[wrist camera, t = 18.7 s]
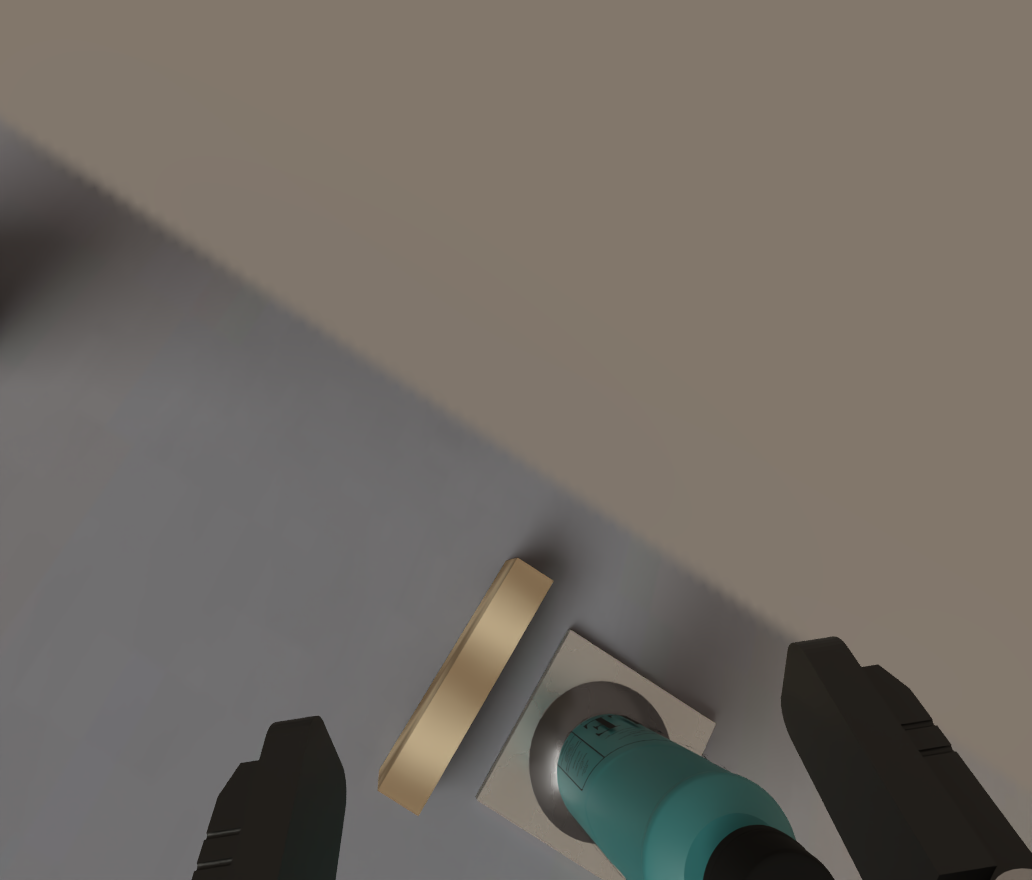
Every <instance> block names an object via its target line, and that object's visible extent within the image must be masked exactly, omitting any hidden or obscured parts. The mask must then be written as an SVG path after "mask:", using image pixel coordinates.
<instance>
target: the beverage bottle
mask: <svg viewBox="0 0 1032 880" xmlns="http://www.w3.org/2000/svg"><path fill="white" fill-rule="evenodd" d="M604 713H606V714H603V715H598V716H594V717H591V716H590V717H591V718H589V717H588V718H589V719H587V718H586V719H587V720H585V719H584V720H585V721H584V720H583V722H582V721H581V722H582V723H581V722H580V723H581V724H579V725H578V726H577V725H576V726H577V727H576V726H575V727H576V728H575V727H574V728H575V729H574V728H573V729H574V730H573V729H572V730H573V731H571V733H569V734H568V735H569V736H568V737H566V738H567V739H565V740H566V741H565V740H564V741H565V742H563V743H564V744H562V745H563V746H561V747H562V749H560V750H561V752H559V753H560V755H559V754H558V756H559V759H558V758H557V760H558V764H557V765H558V766H557V780H558V786H559V791H560V794H561V797H562V799H563V802H564V804H565V806H566V807H567V809H568V810H569V811H568V812H569V813H570V814H572V816H573V818H574V819H576V820H577V823H578V824H579V825H581V826H582V829H583V830H585V831H586V834H587V835H588V836H590V837H591V839H590V840H592V841H594V842H595V843H596V844H595V845H596V846H597V847H599V848H600V849H601V850H600V851H601V852H603V853H604V854H605V855H604V856H605V857H606V858H608V859H609V860H610V861H609V862H610V863H611V864H613V865H614V866H615V867H616V868H617V869H618V870H619V871H620V872H621V873H622V875H623V876H624V877H625V878H626V880H834V878H833V877H832V875H831V874H830V872H829V871H828V869H827V868H826V867H825V866H824V865H823V864H822V863H821V862H820V861H819V860H818V859H817V858H815V857H814V856H813V855H811V854H810V853H809V852H808V851H806V850H805V848H804V847H803V846H802V845H800V844H799V843H798V842H797V841H796V839H795V836H794V833H793V830H792V827H791V825H790V823H789V821H788V819H787V817H786V816H785V814H784V812H783V811H782V809H781V808H780V806H779V805H778V804H777V802H776V801H775V800H774V799H773V798H772V797H771V796H770V795H769V794H768V793H767V792H766V791H765V790H764V789H763V788H761V787H760V786H759V785H757V784H755V783H754V782H752V781H750V780H748V779H747V778H744V777H742V776H739V775H737V774H733V773H731V772H729V771H727V770H725V769H723V768H721V767H719V766H717V765H715V764H713V763H712V762H710V761H709V760H707V759H705V758H703V757H701V756H700V755H698V754H696V753H694V752H692V751H690V750H688V749H687V748H685V747H683V746H681V745H679V744H680V743H679V744H677V742H676V743H675V742H673V741H671V740H669V739H667V738H665V737H663V736H661V735H659V734H657V732H660V731H658V730H654V729H653V727H652V729H651V728H650V729H651V730H650V729H649V728H648V727H647V726H646V725H647V724H646V725H645V726H646V727H647V728H646V727H644V726H642V725H643V724H641V721H640V723H639V722H637V721H635V720H633V719H631V718H633V717H631V718H629V717H627V716H624V714H622V713H621V714H622V715H620V716H619V715H614V714H615V713H617V712H615V713H613V714H612V713H607V712H604ZM599 714H600V713H599ZM595 715H596V714H595ZM592 716H593V715H592ZM636 720H637V719H636ZM638 721H639V720H638ZM642 723H643V722H642ZM644 724H645V723H644ZM648 726H649V725H648ZM649 727H651V726H649ZM653 730H654V731H657V732H656V733H655V732H654V731H653ZM660 733H662V732H660ZM667 737H668V736H667ZM686 746H687V745H686ZM688 747H689V746H688ZM695 750H696V749H695ZM701 754H702V753H701ZM702 755H703V754H702ZM705 755H706V754H705ZM703 756H704V755H703ZM704 757H705V756H704ZM724 768H725V767H724ZM565 806H564V807H565ZM564 807H563V808H564ZM566 807H565V808H566ZM568 815H569V814H568ZM577 827H578V826H577ZM582 832H583V831H582ZM586 837H587V836H586ZM590 837H589V838H590ZM590 840H589V841H590ZM590 842H591V841H590ZM591 843H593V842H591ZM614 866H613V867H614ZM615 867H614V868H615ZM611 868H612V867H611ZM616 868H615V869H616ZM612 869H613V868H612ZM613 870H614V869H613ZM614 871H615V870H614ZM618 873H619V872H618ZM619 875H620V876H621V874H620V873H619ZM625 878H624V879H625Z"/></svg>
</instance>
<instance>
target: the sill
mask: <svg viewBox="0 0 1032 880" xmlns="http://www.w3.org/2000/svg"><path fill="white" fill-rule="evenodd" d="M552 583H553V580H551V579H550V578H548V577H547V576H545V575H544V574H542V573H541V572H539V571H537V570H536V569H534V568H533V567H531V566H530V565H528V564H527V563H525V562H524V561H522V560H520V559H519V558H515V559H511V560H507V561H506V562H505V563H504V565H503V567H502V568H501V570H500V572H499V573H498V575H497V577H496V578H495V580H494V582H493V583H492V585H491V587H490V588H489V590H488V591H487V593H486V595H485V596H484V598H483V600H482V601H481V603H480V605H479V606H478V608H477V610H476V611H475V613H474V615H473V616H472V618H471V619H470V621H469V623H468V624H467V626H466V628H465V629H464V631H463V633H462V634H461V636H460V638H459V639H458V641H457V643H456V644H455V646H454V648H453V649H452V651H451V652H450V654H449V656H448V657H447V659H446V661H445V662H444V664H443V666H442V667H441V669H440V671H439V672H438V674H437V676H436V677H435V679H434V680H433V682H432V684H431V685H430V687H429V689H428V690H427V692H426V694H425V695H424V697H423V699H422V700H421V702H420V704H419V705H418V707H417V709H416V710H415V712H414V713H413V715H412V717H411V718H410V720H409V722H408V723H407V725H406V727H405V728H404V730H403V732H402V733H401V735H400V737H399V738H398V740H397V741H396V743H395V745H394V746H393V748H392V750H391V751H390V753H389V755H388V756H387V758H386V760H385V761H384V763H383V765H382V766H381V768H380V770H379V780H378V791H379V792H381V793H383V794H384V795H386V796H387V797H389V798H390V799H392V800H394V801H395V802H397V803H398V804H400V805H402V806H403V807H405V808H406V809H408V810H409V811H411V812H413V813H414V814H416V815H417V816H419V814H420V812H421V811H422V809H423V807H424V805H425V804H426V802H427V800H428V798H429V797H430V795H431V793H432V791H433V790H434V788H435V786H436V784H437V783H438V781H439V779H440V778H441V776H442V774H443V772H444V771H445V769H446V767H447V765H448V764H449V762H450V760H451V758H452V757H453V755H454V753H455V751H456V750H457V748H458V746H459V745H460V743H461V741H462V739H463V738H464V736H465V734H466V732H467V731H468V729H469V727H470V725H471V724H472V722H473V720H474V718H475V717H476V715H477V713H478V711H479V710H480V708H481V706H482V705H483V703H484V701H485V699H486V698H487V696H488V694H489V692H490V691H491V689H492V687H493V685H494V684H495V682H496V680H497V678H498V677H499V675H500V673H501V672H502V670H503V668H504V666H505V665H506V663H507V661H508V659H509V658H510V656H511V654H512V652H513V651H514V649H515V647H516V645H517V644H518V642H519V640H520V639H521V637H522V635H523V633H524V632H525V630H526V628H527V626H528V625H529V623H530V621H531V619H532V618H533V616H534V614H535V612H536V611H537V609H538V607H539V606H540V604H541V602H542V600H543V599H544V597H545V595H546V593H547V592H548V590H549V588H550V586H551V585H552Z"/></svg>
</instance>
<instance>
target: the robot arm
mask: <svg viewBox="0 0 1032 880" xmlns="http://www.w3.org/2000/svg"><path fill="white" fill-rule="evenodd" d="M781 708H782V714H783V718H784V722H785V725H786V728H787V731H788V733H789V736H790V738H791V740H792V742H793V744H794V746H795V748H796V750H797V752H798V754H799V756H800V758H801V760H802V762H803V764H804V766H805V768H806V770H807V772H808V773H809V775H810V777H811V779H812V781H813V783H814V785H815V787H816V789H817V791H818V793H819V795H820V797H821V799H822V801H823V803H824V805H825V807H826V809H827V811H828V813H829V815H830V817H831V819H832V821H833V823H834V825H835V827H836V829H837V831H838V833H839V834H840V836H841V838H842V840H843V842H844V844H845V846H846V848H847V850H848V852H849V854H850V856H851V858H852V860H853V862H854V864H855V866H856V868H857V870H858V872H859V874H860V876H861V878H862V880H1032V853H1031V851H1030V850H1029V849H1028V848H1027V846H1026V845H1025V844H1024V842H1023V841H1022V840H1021V838H1020V837H1019V836H1018V834H1017V833H1016V831H1015V830H1014V829H1013V827H1012V826H1011V825H1010V823H1009V822H1008V821H1007V819H1006V818H1005V817H1004V815H1003V814H1002V813H1001V811H1000V810H999V809H998V807H997V806H996V804H995V803H994V802H993V800H992V799H991V798H990V796H989V795H988V794H987V792H986V791H985V790H984V788H983V787H982V786H981V784H980V783H979V782H978V780H977V779H976V777H975V776H974V775H973V773H972V772H971V771H970V769H969V768H968V767H967V765H966V764H965V763H964V761H963V760H962V759H961V757H960V756H959V754H958V753H957V752H954V751H953V750H952V747H951V744H950V742H949V741H948V740H947V738H946V737H945V736H944V734H943V733H942V732H941V730H940V729H939V727H938V726H935V725H934V724H933V721H932V718H931V717H930V715H929V714H928V713H927V711H926V710H925V709H924V707H923V706H922V704H921V703H920V702H919V700H918V699H917V698H916V696H915V695H914V694H913V693H912V691H911V690H910V689H909V688H908V687H907V686H906V685H904V684H903V683H902V682H900V681H899V680H898V679H896V678H895V677H894V676H892V675H891V674H890V673H889V672H887V671H886V670H885V669H883V668H882V667H881V666H879V665H872V666H866V667H861V666H860V664H859V663H858V662H857V660H856V659H855V657H854V656H853V655H852V653H851V651H850V650H849V648H847V646H846V644H845V643H844V642H843V641H842V640H841V639H839V638H838V637H827V638H821V639H814V640H808V641H802V642H795V643H791V644H790V645H789V647H788V652H787V660H786V667H785V674H784V681H783V688H782V695H781ZM345 807H346V780H345V773H344V769H343V766H342V764H341V761H340V759H339V757H338V754H337V752H336V750H335V747H334V745H333V743H332V741H331V738H330V736H329V734H328V731H327V729H326V727H325V724H324V722H323V720H322V719H321V717H320V716H312V717H306V718H299V719H293V720H287V721H280V722H275V723H273V724H272V725H271V726H270V727H269V729H268V731H267V734H266V738H265V741H264V745H263V749H262V752H261V756H260V759H259V760H258V761H251V762H245V763H240V765H239V766H238V768H237V769H236V771H235V772H234V774H233V775H232V777H231V778H230V780H229V781H228V782H227V784H226V785H225V787H224V788H223V790H222V791H221V793H220V794H219V796H218V798H217V801H216V804H215V808H214V811H213V814H212V817H211V820H210V823H209V827H208V830H207V839H206V840H204V842H203V845H202V849H201V852H200V855H199V858H198V861H197V865H198V866H197V870H196V871H194V874H193V877H192V880H335V879H336V872H337V865H338V858H339V851H340V843H341V836H342V829H343V822H344V815H345Z"/></svg>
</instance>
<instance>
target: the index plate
mask: <svg viewBox="0 0 1032 880" xmlns="http://www.w3.org/2000/svg"><path fill="white" fill-rule="evenodd" d="M604 712H607V713H612V714H613V713H615V712H617V713H615V714H614V715H619V716H620V715H622V714H624V716H627V717H629V718H631V717H633V718H631V719H633V720H635V721H637V722H639V723H640V721H641V724H643V725H642V726H644V727H646V726H647V727H648V728H649V729H650V728H651V729H652V727H653V729H654V730H658V731H660V732H662V733H660V732H657V731H654V730H653V731H654V732H655V733H656V732H657V734H659V735H661V736H663V737H665V738H667V739H669V740H671V741H673V742H675V743H676V742H677V744H679V743H680V744H679V745H681V746H683V747H685V748H687V749H688V750H690V751H692V752H694V753H696V754H698V755H700V756H701V755H702V754H701V753H703V751H704V749H705V747H706V745H707V742H708V740H709V738H710V736H711V734H712V731H713V729H714V727H715V725H716V723H714V722H713V721H711V720H709V719H708V718H706V717H705V716H703V715H702V714H700V713H699V712H697V711H696V710H694V709H692V708H691V707H689V706H688V705H686V704H685V703H683V702H682V701H680V700H678V699H677V698H675V697H674V696H672V695H671V694H669V693H668V692H666V691H665V690H663V689H661V688H660V687H658V686H657V685H655V684H654V683H652V682H651V681H649V680H648V679H646V678H644V677H643V676H641V675H640V674H638V673H637V672H635V671H634V670H632V669H630V668H629V667H627V666H626V665H624V664H623V663H621V662H620V661H618V660H617V659H615V658H613V657H612V656H610V655H609V654H607V653H606V652H604V651H603V650H601V649H600V648H598V647H596V646H595V645H593V644H592V643H590V642H589V641H587V640H586V639H584V638H583V637H581V636H579V635H578V634H576V633H575V632H573V631H572V630H569V629H568V631H567V632H566V634H565V636H564V638H563V640H562V641H561V643H560V645H559V647H558V649H557V650H556V652H555V654H554V656H553V658H552V659H551V661H550V663H549V665H548V667H547V669H546V670H545V672H544V674H543V676H542V678H541V679H540V681H539V683H538V685H537V687H536V688H535V690H534V692H533V694H532V696H531V697H530V699H529V701H528V703H527V705H526V706H525V708H524V710H523V712H522V714H521V715H520V717H519V719H518V721H517V723H516V724H515V726H514V728H513V730H512V732H511V733H510V735H509V737H508V739H507V741H506V742H505V744H504V746H503V748H502V750H501V752H500V753H499V755H498V757H497V759H496V761H495V762H494V764H493V766H492V768H491V770H490V771H489V773H488V775H487V777H486V779H485V780H484V782H483V784H482V786H481V788H480V789H479V791H478V793H477V795H476V799H477V800H478V801H479V802H481V803H482V804H484V805H486V806H487V807H489V808H490V809H492V810H493V811H495V812H497V813H498V814H500V815H501V816H503V817H505V818H506V819H508V820H509V821H511V822H512V823H514V824H516V825H517V826H519V827H520V828H522V829H523V830H525V831H527V832H528V833H530V834H531V835H533V836H535V837H536V838H538V839H539V840H541V841H542V842H544V843H546V844H547V845H549V846H550V847H552V848H553V849H555V850H557V851H558V852H560V853H561V854H563V855H565V856H566V857H568V858H569V859H571V860H572V861H574V862H576V863H577V864H579V865H580V866H582V867H583V868H585V869H587V870H588V871H590V872H591V873H593V874H595V875H596V876H598V877H599V878H601V879H602V880H626V878H625V877H624V876H623V875H622V873H621V872H620V871H619V870H618V869H617V868H616V867H615V866H614V865H613V864H611V863H610V862H609V861H610V860H609V859H608V858H606V857H605V856H604V855H605V854H604V853H603V852H601V851H600V850H601V849H600V848H599V847H597V846H596V845H595V844H596V843H595V842H594V841H592V840H590V839H591V837H590V836H588V835H587V834H586V831H585V830H583V829H582V826H581V825H579V824H578V823H577V820H576V819H574V818H573V816H572V814H570V813H569V812H568V811H569V810H568V809H567V807H566V806H565V804H564V802H563V799H562V797H561V794H560V791H559V786H558V780H557V766H558V765H557V764H558V760H557V758H558V759H559V756H558V754H559V755H560V753H559V752H561V750H560V749H562V747H561V746H563V745H562V744H564V743H563V742H565V741H566V740H565V739H567V738H566V737H568V736H569V735H568V734H569V733H571V731H573V730H574V729H575V728H576V727H577V726H578V725H579V724H581V723H582V722H583V720H584V719H585V720H587V719H589V718H591V717H594V716H598V715H603V714H606V713H604ZM599 713H600V714H599ZM621 713H622V714H621ZM595 714H596V715H595ZM592 715H593V716H592ZM590 716H591V717H590ZM588 717H589V718H588ZM586 718H587V719H586ZM636 719H637V720H636ZM585 720H584V721H585ZM638 720H639V721H638ZM581 721H582V722H581ZM580 722H581V723H580ZM642 722H643V723H642ZM644 723H645V724H644ZM646 724H647V725H646ZM576 725H577V726H576ZM645 725H646V726H645ZM648 725H649V726H651V727H649V726H648ZM575 726H576V727H575ZM574 727H575V728H574ZM647 727H646V728H647ZM573 728H574V729H573ZM572 729H573V730H572ZM651 729H650V730H651ZM667 736H668V737H667ZM564 740H565V741H564ZM686 745H687V746H686ZM688 746H689V747H688ZM695 749H696V750H695ZM564 806H565V807H566V808H565V807H564ZM563 807H564V808H563ZM568 814H569V815H568ZM577 826H578V827H577ZM582 831H583V832H582ZM586 836H587V837H586ZM589 837H590V838H589ZM589 840H590V841H591V842H593V843H591V842H590V841H589ZM613 866H614V867H615V868H616V869H615V868H614V867H613ZM611 867H612V868H613V869H614V870H615V871H614V870H613V869H612V868H611ZM618 872H619V873H620V874H621V876H620V875H619V873H618ZM624 878H625V879H624Z"/></svg>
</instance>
